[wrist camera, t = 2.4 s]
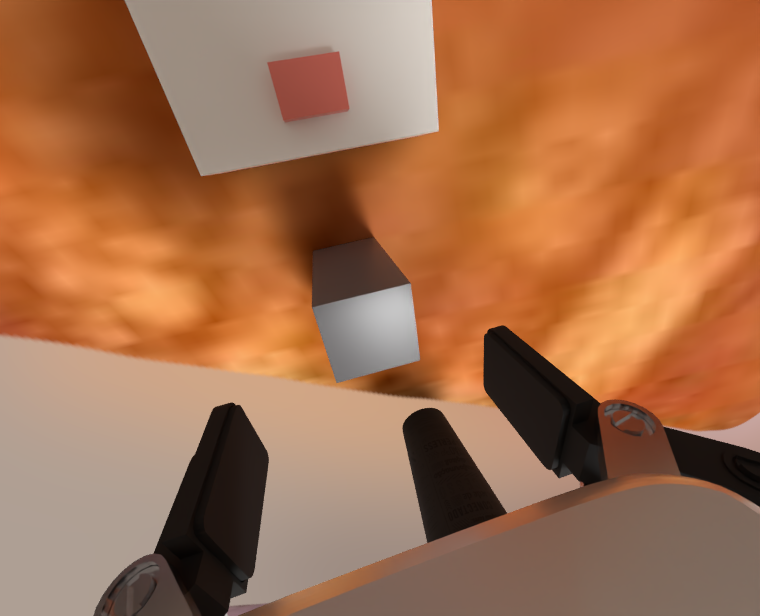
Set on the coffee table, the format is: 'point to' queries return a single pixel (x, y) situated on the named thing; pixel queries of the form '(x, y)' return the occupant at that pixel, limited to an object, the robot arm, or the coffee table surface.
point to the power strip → (291, 75)
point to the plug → (363, 309)
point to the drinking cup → (446, 477)
